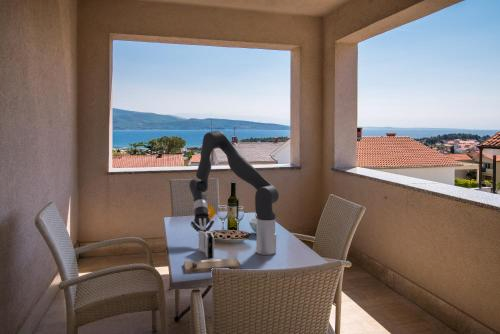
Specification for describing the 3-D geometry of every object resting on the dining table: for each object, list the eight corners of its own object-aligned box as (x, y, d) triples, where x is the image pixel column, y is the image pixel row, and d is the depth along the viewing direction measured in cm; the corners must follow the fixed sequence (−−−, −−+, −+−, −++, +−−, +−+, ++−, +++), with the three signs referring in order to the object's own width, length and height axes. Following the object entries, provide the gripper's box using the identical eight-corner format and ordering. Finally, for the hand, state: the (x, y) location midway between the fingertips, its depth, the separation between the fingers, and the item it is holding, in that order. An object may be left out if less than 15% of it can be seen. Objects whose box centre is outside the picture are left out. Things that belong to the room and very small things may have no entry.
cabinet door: (236, 261, 174) (236, 254, 173) (241, 268, 164) (241, 261, 164) (183, 264, 168) (183, 258, 167) (185, 273, 158) (185, 265, 158)
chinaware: (266, 229, 233) (266, 217, 233) (278, 235, 220) (279, 222, 219) (244, 231, 227) (244, 219, 226) (256, 238, 213) (256, 224, 213)
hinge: (198, 250, 189) (198, 230, 189) (208, 249, 192) (208, 229, 191) (207, 258, 177) (207, 237, 176) (218, 257, 179) (218, 236, 179)
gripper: (189, 206, 201) (191, 234, 190) (213, 205, 204) (217, 233, 193) (188, 213, 206) (190, 241, 196) (212, 213, 210) (215, 240, 199)
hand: (203, 237), depth 194 cm, fingers closed
